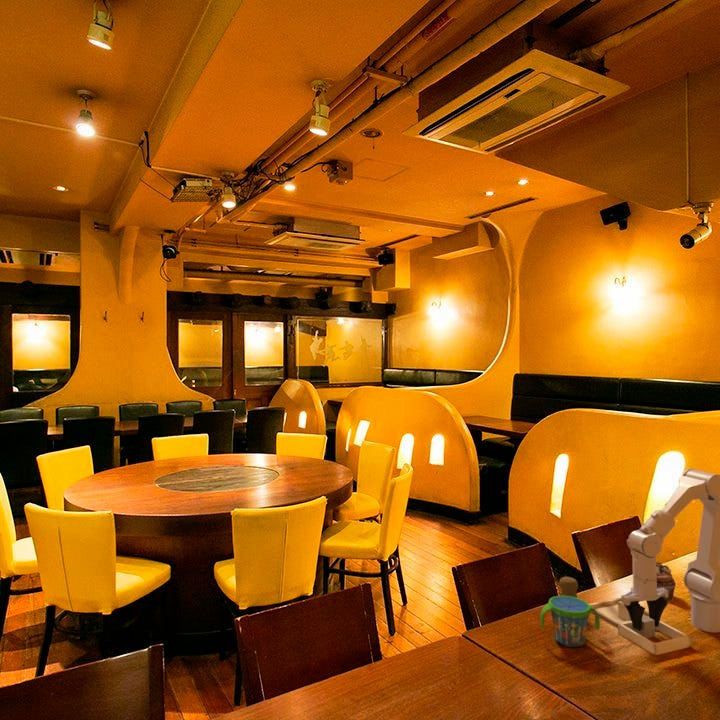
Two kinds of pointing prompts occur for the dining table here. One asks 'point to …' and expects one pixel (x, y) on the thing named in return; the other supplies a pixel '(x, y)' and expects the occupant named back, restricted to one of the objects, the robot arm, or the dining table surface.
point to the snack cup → (569, 619)
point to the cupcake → (665, 580)
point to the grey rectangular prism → (647, 627)
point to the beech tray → (610, 611)
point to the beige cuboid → (623, 612)
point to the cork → (568, 586)
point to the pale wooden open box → (673, 644)
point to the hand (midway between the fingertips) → (645, 626)
